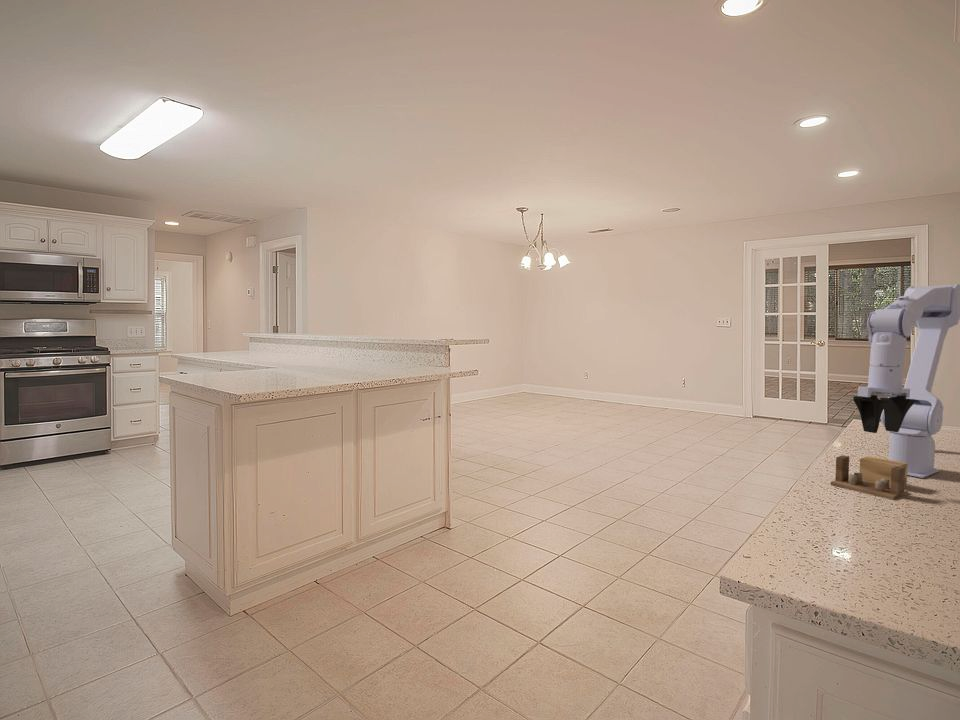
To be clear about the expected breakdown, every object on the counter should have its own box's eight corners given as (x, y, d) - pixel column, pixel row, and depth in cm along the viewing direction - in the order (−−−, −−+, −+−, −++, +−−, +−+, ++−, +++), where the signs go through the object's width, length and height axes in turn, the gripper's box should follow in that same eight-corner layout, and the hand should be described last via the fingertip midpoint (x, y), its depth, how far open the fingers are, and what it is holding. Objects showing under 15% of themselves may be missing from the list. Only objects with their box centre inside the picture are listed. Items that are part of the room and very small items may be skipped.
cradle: (846, 479, 114) (847, 453, 114) (908, 493, 105) (909, 465, 104) (830, 484, 110) (831, 458, 110) (893, 499, 101) (894, 471, 101)
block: (867, 478, 115) (868, 455, 115) (906, 486, 109) (907, 463, 109) (859, 481, 113) (860, 458, 112) (898, 490, 107) (899, 466, 106)
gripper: (887, 366, 102) (881, 436, 102) (929, 369, 108) (923, 434, 108) (849, 364, 108) (844, 429, 109) (890, 366, 114) (885, 428, 115)
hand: (881, 431), depth 109 cm, fingers open, 7 cm apart
